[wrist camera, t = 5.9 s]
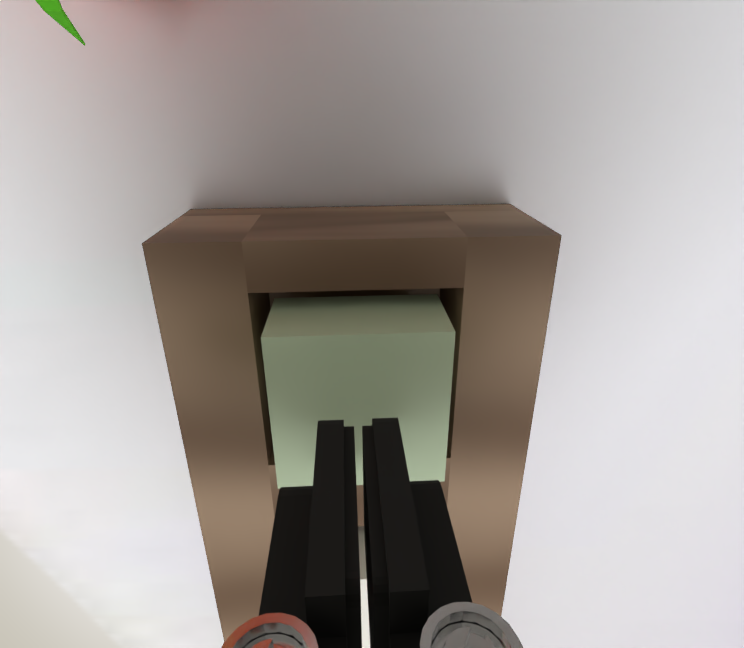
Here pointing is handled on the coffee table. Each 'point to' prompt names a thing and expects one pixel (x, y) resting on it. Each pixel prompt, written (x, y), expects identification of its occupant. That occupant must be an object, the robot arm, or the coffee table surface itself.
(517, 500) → the frame
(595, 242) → the coffee table surface
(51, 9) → the tomato
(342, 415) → the sage button
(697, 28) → the coffee table surface
